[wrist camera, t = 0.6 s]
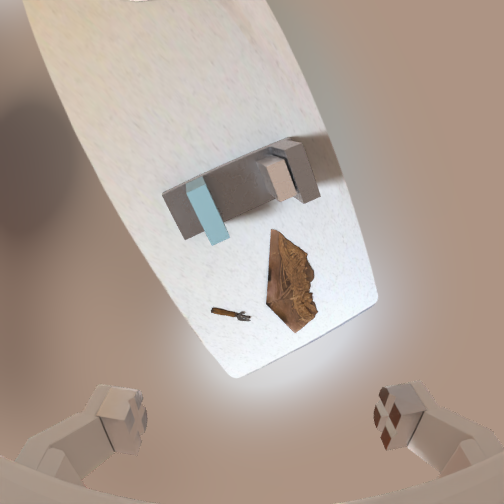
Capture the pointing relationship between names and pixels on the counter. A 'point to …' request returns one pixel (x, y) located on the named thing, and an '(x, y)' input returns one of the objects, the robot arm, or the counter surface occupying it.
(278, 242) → the wooden fragment
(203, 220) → the slide jaw
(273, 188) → the steel block
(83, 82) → the counter surface
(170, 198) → the vise bed
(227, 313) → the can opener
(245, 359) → the counter surface
